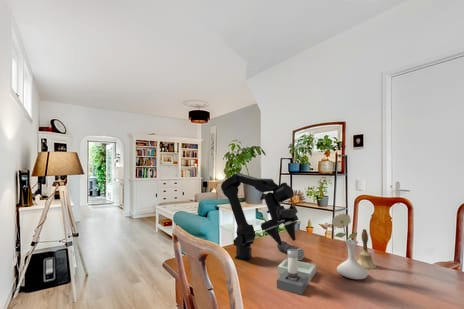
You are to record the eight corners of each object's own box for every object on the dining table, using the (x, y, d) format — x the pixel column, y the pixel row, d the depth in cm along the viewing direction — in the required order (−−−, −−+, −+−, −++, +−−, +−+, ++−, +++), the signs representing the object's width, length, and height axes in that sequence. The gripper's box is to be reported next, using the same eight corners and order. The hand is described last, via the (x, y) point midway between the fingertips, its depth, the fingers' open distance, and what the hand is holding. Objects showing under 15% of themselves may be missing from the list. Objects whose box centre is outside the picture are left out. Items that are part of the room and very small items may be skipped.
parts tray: (277, 273, 102) (277, 266, 102) (285, 265, 110) (285, 258, 110) (309, 281, 95) (309, 273, 95) (315, 272, 103) (315, 264, 104)
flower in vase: (365, 272, 104) (364, 212, 105) (370, 284, 93) (369, 217, 94) (331, 267, 108) (330, 210, 109) (333, 279, 97) (332, 215, 98)
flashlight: (276, 250, 129) (276, 240, 130) (284, 249, 132) (284, 239, 132) (295, 261, 116) (295, 249, 116) (304, 259, 118) (304, 247, 118)
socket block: (276, 288, 90) (276, 279, 90) (285, 278, 97) (285, 270, 98) (301, 294, 85) (301, 286, 85) (308, 284, 93) (308, 276, 93)
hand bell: (367, 270, 105) (366, 232, 106) (351, 263, 113) (350, 228, 114) (380, 267, 108) (380, 230, 109) (364, 260, 116) (363, 226, 117)
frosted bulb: (286, 287, 91) (285, 251, 91) (289, 282, 94) (289, 248, 94) (296, 289, 89) (296, 253, 89) (299, 285, 92) (299, 250, 92)
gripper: (273, 201, 95) (289, 242, 89) (300, 197, 107) (315, 233, 102) (254, 211, 102) (267, 249, 96) (281, 206, 115) (295, 240, 109)
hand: (287, 242), depth 101 cm, fingers open, 9 cm apart
